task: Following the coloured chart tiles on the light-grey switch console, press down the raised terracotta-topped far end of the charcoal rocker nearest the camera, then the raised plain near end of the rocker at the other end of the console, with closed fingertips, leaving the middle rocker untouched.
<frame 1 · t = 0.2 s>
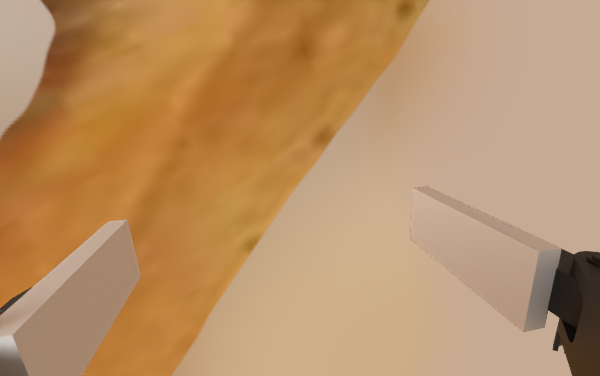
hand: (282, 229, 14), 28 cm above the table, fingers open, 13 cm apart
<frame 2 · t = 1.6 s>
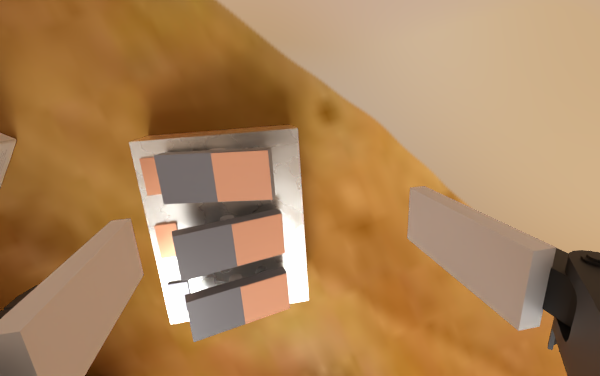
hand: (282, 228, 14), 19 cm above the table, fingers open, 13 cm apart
rocker B: (231, 240, 26), point 7 cm above the table, hinge at 14.0°
console: (232, 212, 33), on the table
rocker A: (239, 299, 28), point 7 cm above the table, hinge at 14.0°
rocker C: (218, 174, 24), point 7 cm above the table, hinge at -14.0°
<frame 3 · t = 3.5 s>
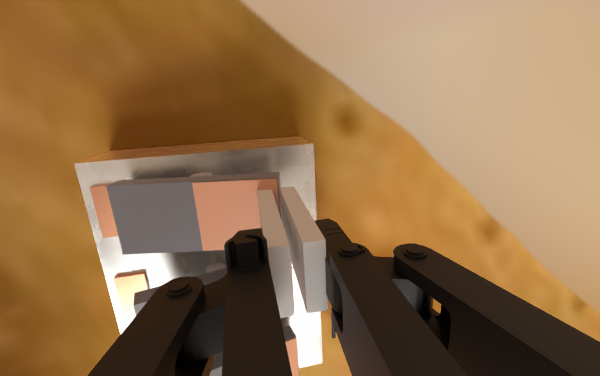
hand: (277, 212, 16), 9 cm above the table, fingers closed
rocker B: (221, 299, 19), point 7 cm above the table, hinge at 14.0°
console: (224, 248, 25), on the table
rocker A: (232, 373, 20), point 7 cm above the table, hinge at 14.0°
rocker C: (203, 210, 17), point 7 cm above the table, hinge at -11.8°, touching gripper
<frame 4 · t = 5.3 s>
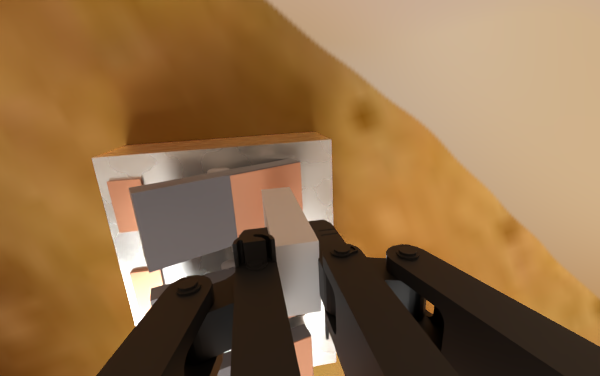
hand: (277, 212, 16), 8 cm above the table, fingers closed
rocker B: (236, 296, 19), point 7 cm above the table, hinge at 14.0°
console: (237, 244, 25), on the table
rocker A: (246, 370, 20), point 7 cm above the table, hinge at 14.0°
rocker C: (226, 205, 17), point 7 cm above the table, hinge at 24.5°, touching console
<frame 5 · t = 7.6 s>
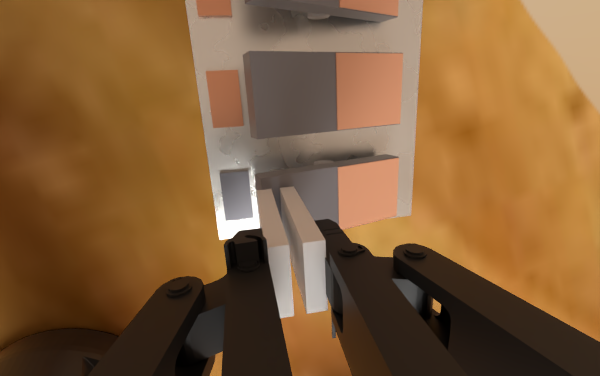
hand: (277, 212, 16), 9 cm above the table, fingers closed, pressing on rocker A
rocker B: (325, 93, 17), point 7 cm above the table, hinge at 14.0°
console: (300, 96, 23), on the table
rocker A: (328, 195, 18), point 7 cm above the table, hinge at 13.7°, touching gripper
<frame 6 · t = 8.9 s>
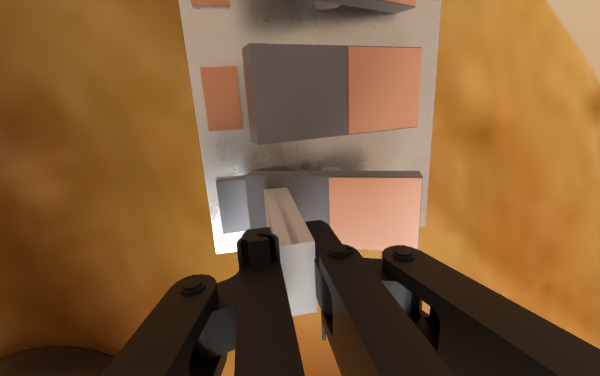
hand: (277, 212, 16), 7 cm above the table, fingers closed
rocker B: (335, 93, 15), point 7 cm above the table, hinge at 14.0°
console: (304, 96, 21), on the table
rocker A: (331, 206, 17), point 7 cm above the table, hinge at -23.0°, touching gripper
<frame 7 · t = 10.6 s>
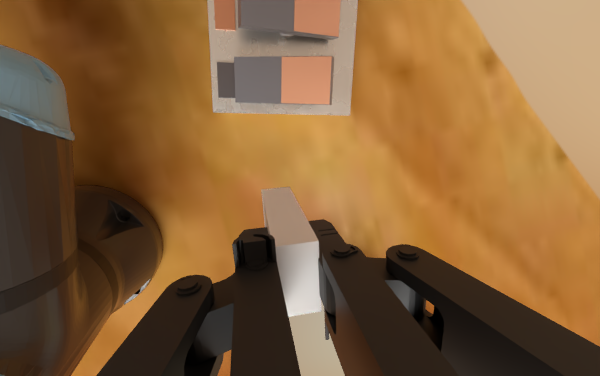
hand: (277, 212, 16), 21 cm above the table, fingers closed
rocker B: (289, 8, 26), point 7 cm above the table, hinge at 14.0°
console: (280, 28, 33), on the table
rocker A: (284, 81, 28), point 7 cm above the table, hinge at -22.7°
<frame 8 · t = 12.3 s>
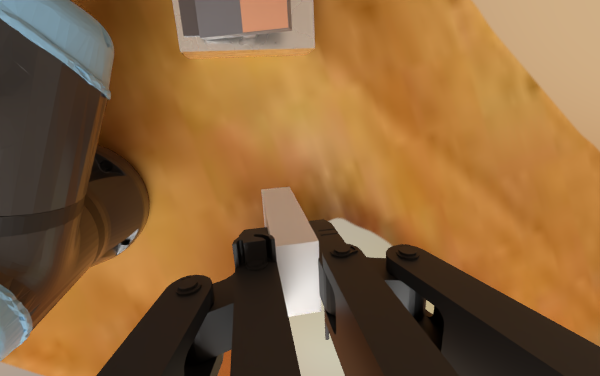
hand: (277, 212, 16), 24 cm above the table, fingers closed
rocker A: (244, 12, 28), point 7 cm above the table, hinge at -22.7°
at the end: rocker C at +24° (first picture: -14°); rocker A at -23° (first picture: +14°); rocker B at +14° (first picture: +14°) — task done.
